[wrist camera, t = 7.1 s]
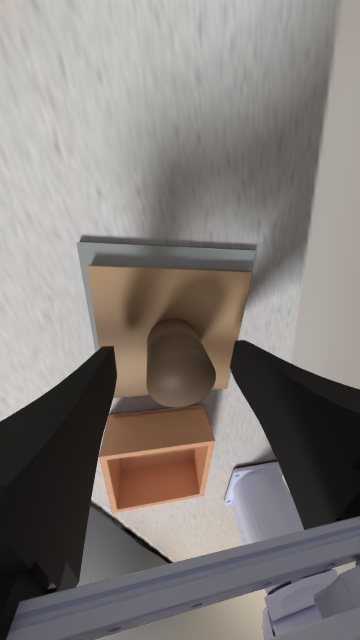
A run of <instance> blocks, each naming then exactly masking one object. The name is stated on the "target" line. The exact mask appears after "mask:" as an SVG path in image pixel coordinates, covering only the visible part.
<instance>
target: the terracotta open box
mask: <svg viewBox="0 0 360 640" xmlns="http://www.w3.org/2000/svg"><path fill="white" fill-rule="evenodd" d="M214 443H215V439H214V436H213V433H212V430H211V427H210V424H209V421H208V418H207V415H206V412H205V409H204V406H203V405H197V406H187V407H178V408H168V409H159V410H149V411H139V412H130V413H120V414H111V415H108V420H107V424H106V428H105V433H104V437H103V441H102V446H101V450H100V454H99V460H100V464H101V468H102V473H103V477H104V481H105V485H106V489H107V494H108V498H109V502H110V506H111V510H112V513H116V512H122V511H127V510H132V509H137V508H142V507H147V506H153V505H158V504H163V503H168V502H173V501H179V500H184V499H189V498H194V497H199V496H204V492H205V487H206V482H207V477H208V472H209V467H210V463H211V458H212V453H213V448H214Z"/></svg>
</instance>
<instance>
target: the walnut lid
mask: <svg viewBox="0 0 360 640" xmlns="http://www.w3.org/2000/svg"><path fill="white" fill-rule="evenodd" d="M87 272H88V279H89V285H90V292H91V299H92V305H93V312H94V318H95V325H96V332H97V338H98V345H99V349H100V348H101V347H102V346H114V352H115V360H116V368H117V381H116V388H115V393H114V397H113V398H119V397H131V396H143V395H150V396H151V398H152V399H153V400H154V401H156V402H157V403H159V404H161V405H164V406H167V407H185V406H189V405H192V404H194V403H197V402H198V401H200V400H202V399H203V398H204V397H206V396H207V395H208V394H209V392H210V391H211V390H216V389H227V385H228V381H229V376H230V372H231V369H230V363H231V358H232V353H233V348H234V343H235V341H238V336H239V332H240V327H241V323H242V318H243V314H244V309H245V305H246V300H247V296H248V291H249V287H250V282H251V278H252V273H253V272H250V271H247V270H223V269H197V268H172V267H147V266H122V265H96V264H90V265H88V266H87Z"/></svg>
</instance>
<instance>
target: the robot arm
mask: <svg viewBox="0 0 360 640" xmlns="http://www.w3.org/2000/svg"><path fill="white" fill-rule="evenodd" d="M230 369H231V372H232V374H233V377H234V379H235V381H236V383H237V385H238V386H239V388H240V390H241V392H242V393H243V395H244V397H245V398H246V400H247V402H248V403H249V405H250V407H251V408H252V410H253V412H254V413H255V415H256V417H257V418H258V420H259V422H260V424H261V426H262V428H263V430H264V432H265V435H266V437H267V439H268V441H269V443H270V445H271V448H272V450H273V452H274V454H275V456H276V459H277V462H272V463H266V464H260V465H254V466H248V467H242V468H237V469H235V470H234V471H233V474H232V477H231V480H230V484H229V487H228V490H227V493H226V497H225V500H224V505H225V506H230V505H231V507H232V511H233V514H234V517H235V520H236V524H237V527H238V530H239V533H240V537H241V540H242V543H243V546H239V547H235V548H231V549H227V550H223V551H219V552H215V553H211V554H207V555H203V556H199V557H195V558H191V559H187V560H183V561H179V562H175V563H171V564H167V565H164V566H159V567H155V568H152V569H147V570H144V571H139V572H136V573H131V574H127V575H124V576H119V577H115V578H112V579H107V580H104V581H99V582H95V583H91V584H87V585H83V586H79V587H76V586H77V584H78V582H79V578H80V570H81V563H82V555H83V549H84V542H85V535H86V528H87V521H88V515H89V509H90V503H91V496H92V490H93V484H94V479H95V473H96V467H97V461H98V456H99V451H100V445H101V441H102V436H103V432H104V429H105V425H106V422H107V418H108V415H109V411H110V408H111V404H112V400H113V397H114V393H115V388H116V381H117V368H116V360H115V352H114V346H102V347H101V348H100V349H99V350H98V351H97V352H95V353H94V354H93V355H92V356H91V357H90V358H89V359H88V360H87V361H86V362H85V363H83V364H82V365H81V366H80V367H79V368H78V369H77V370H75V371H74V372H73V373H72V374H70V375H69V376H68V377H67V378H65V379H64V380H63V381H62V382H61V383H59V384H58V385H57V386H55V387H54V388H52V389H51V390H50V391H48V392H47V393H45V394H44V395H42V396H41V397H40V398H38V399H37V400H35V401H33V402H32V403H30V404H29V405H27V406H25V407H24V408H22V409H20V410H19V411H17V412H16V413H14V414H12V415H11V416H9V417H7V418H6V419H4V420H2V421H1V422H0V640H95V639H98V638H101V637H104V636H108V635H111V634H114V633H118V632H121V631H124V630H127V629H131V628H135V627H138V626H141V625H145V624H148V623H151V622H154V621H158V620H161V619H164V618H168V617H171V616H174V615H178V614H181V613H184V612H188V611H191V610H194V609H198V608H201V607H204V606H208V605H211V604H214V603H218V602H221V601H224V600H228V599H231V598H234V597H238V596H241V595H244V594H247V593H251V592H254V591H258V590H261V589H265V591H266V593H267V596H266V597H265V598H264V599H265V602H266V605H267V608H264V610H263V621H262V629H263V635H264V640H360V390H359V389H356V388H353V387H350V386H347V385H343V384H341V383H338V382H335V381H332V380H329V379H326V378H324V377H321V376H318V375H316V374H313V373H311V372H309V371H306V370H303V369H301V368H299V367H297V366H295V365H293V364H291V363H289V362H286V361H284V360H282V359H280V358H278V357H276V356H275V355H273V354H271V353H269V352H267V351H265V350H263V349H261V348H259V347H257V346H255V345H254V344H252V343H249V342H247V341H245V340H238V341H235V343H234V348H233V353H232V358H231V363H230ZM282 475H284V478H285V480H286V483H287V485H288V488H289V490H290V492H289V490H288V488H287V487H286V485H285V483H284V481H283V479H282V478H281V477H282ZM290 493H291V494H290ZM354 561H356V567H355V568H352V569H350V570H348V571H346V572H343V573H341V574H340V575H339V576H338V574H337V572H336V570H335V569H332V568H334V567H338V566H341V565H344V564H348V563H351V562H354Z"/></svg>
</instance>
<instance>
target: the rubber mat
mask: <svg viewBox="0 0 360 640" xmlns="http://www.w3.org/2000/svg"><path fill="white" fill-rule="evenodd" d="M77 248H78V253H79V259H80V265H81V270H82V276H83V282H84V287H85V293H86V299H87V304H88V310H89V316H90V321H91V327H92V333H93V338H94V344H95V350H96V352H97V351H98V350H99V345H98V338H97V332H96V325H95V318H94V312H93V305H92V299H91V292H90V285H89V279H88V272H87V266H88V265H90V264H96V265H122V266H147V267H172V268H197V269H223V270H247V271H250V272H252V269H253V265H254V260H255V255H256V251H255V250H237V249H216V248H195V247H174V246H153V245H132V244H111V243H90V242H77ZM230 374H231V372H230ZM229 378H230V376H229ZM228 383H229V381H228ZM227 387H228V385H227Z"/></svg>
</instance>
